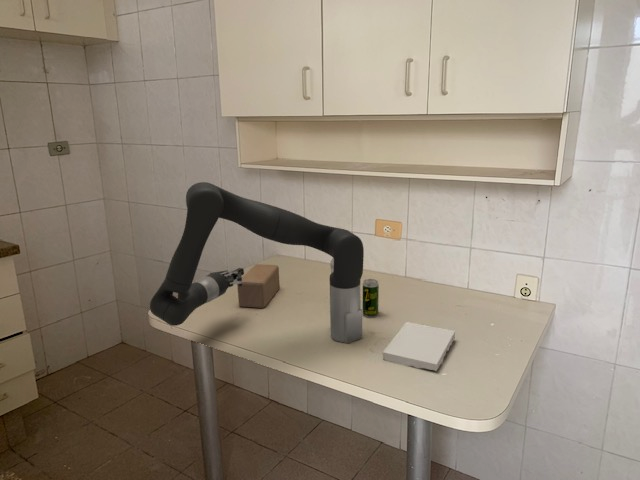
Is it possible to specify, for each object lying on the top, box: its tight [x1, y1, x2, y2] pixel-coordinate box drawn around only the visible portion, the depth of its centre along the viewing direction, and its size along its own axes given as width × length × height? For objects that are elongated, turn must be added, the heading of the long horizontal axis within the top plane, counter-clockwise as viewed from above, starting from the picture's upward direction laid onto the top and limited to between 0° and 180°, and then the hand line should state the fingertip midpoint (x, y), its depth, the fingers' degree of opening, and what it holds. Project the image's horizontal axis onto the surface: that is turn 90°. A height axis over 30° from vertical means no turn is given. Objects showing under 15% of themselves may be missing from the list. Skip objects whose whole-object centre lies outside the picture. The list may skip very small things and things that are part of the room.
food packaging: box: [382, 321, 456, 372], centre depth 134 cm, size 15×3×20 cm
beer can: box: [362, 278, 380, 319], centre depth 156 cm, size 5×5×12 cm
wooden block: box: [236, 263, 281, 309], centre depth 173 cm, size 10×10×20 cm
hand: (241, 270), depth 156 cm, fingers closed
